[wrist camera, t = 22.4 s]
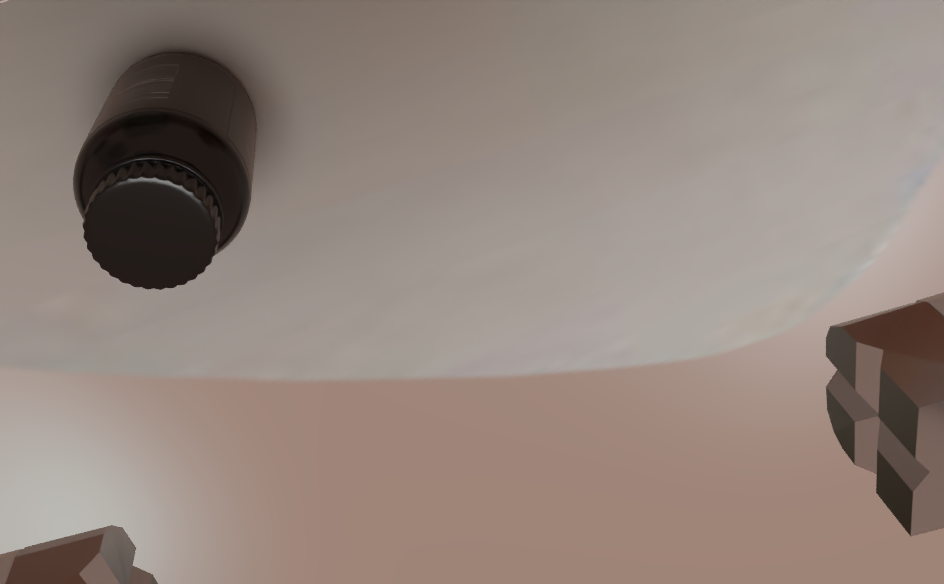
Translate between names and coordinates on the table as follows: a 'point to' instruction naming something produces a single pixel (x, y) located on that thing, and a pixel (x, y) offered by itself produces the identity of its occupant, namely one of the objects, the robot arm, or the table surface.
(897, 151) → the table surface
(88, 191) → the supplement bottle
